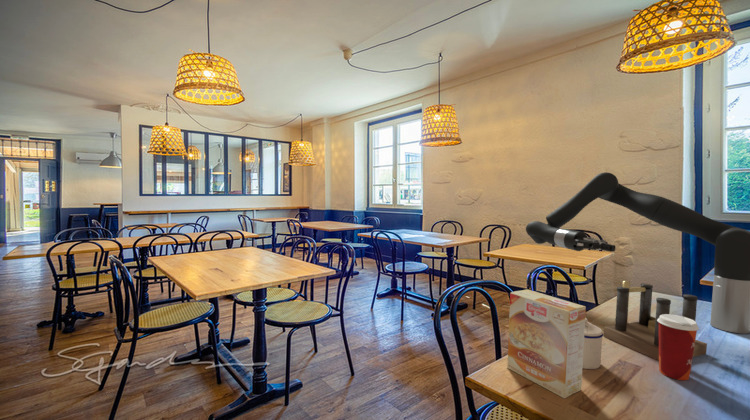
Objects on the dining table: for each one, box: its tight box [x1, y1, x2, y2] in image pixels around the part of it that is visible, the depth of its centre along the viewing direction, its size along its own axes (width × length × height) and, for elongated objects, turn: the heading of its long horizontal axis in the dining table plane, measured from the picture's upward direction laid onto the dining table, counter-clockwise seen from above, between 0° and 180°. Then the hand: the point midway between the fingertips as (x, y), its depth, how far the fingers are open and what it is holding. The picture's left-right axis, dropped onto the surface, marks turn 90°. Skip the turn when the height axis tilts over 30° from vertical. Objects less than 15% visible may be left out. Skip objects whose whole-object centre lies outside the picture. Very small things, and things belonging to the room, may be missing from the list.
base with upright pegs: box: [603, 286, 708, 361], centre depth 101 cm, size 17×17×16 cm
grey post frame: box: [621, 280, 654, 326], centre depth 107 cm, size 10×3×14 cm, turn 102°
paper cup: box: [657, 313, 700, 382], centre depth 84 cm, size 8×8×14 cm
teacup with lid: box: [582, 317, 604, 370], centre depth 91 cm, size 12×9×12 cm
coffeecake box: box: [506, 288, 587, 399], centre depth 81 cm, size 15×7×20 cm, turn 31°
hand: (613, 248), depth 118 cm, fingers closed
